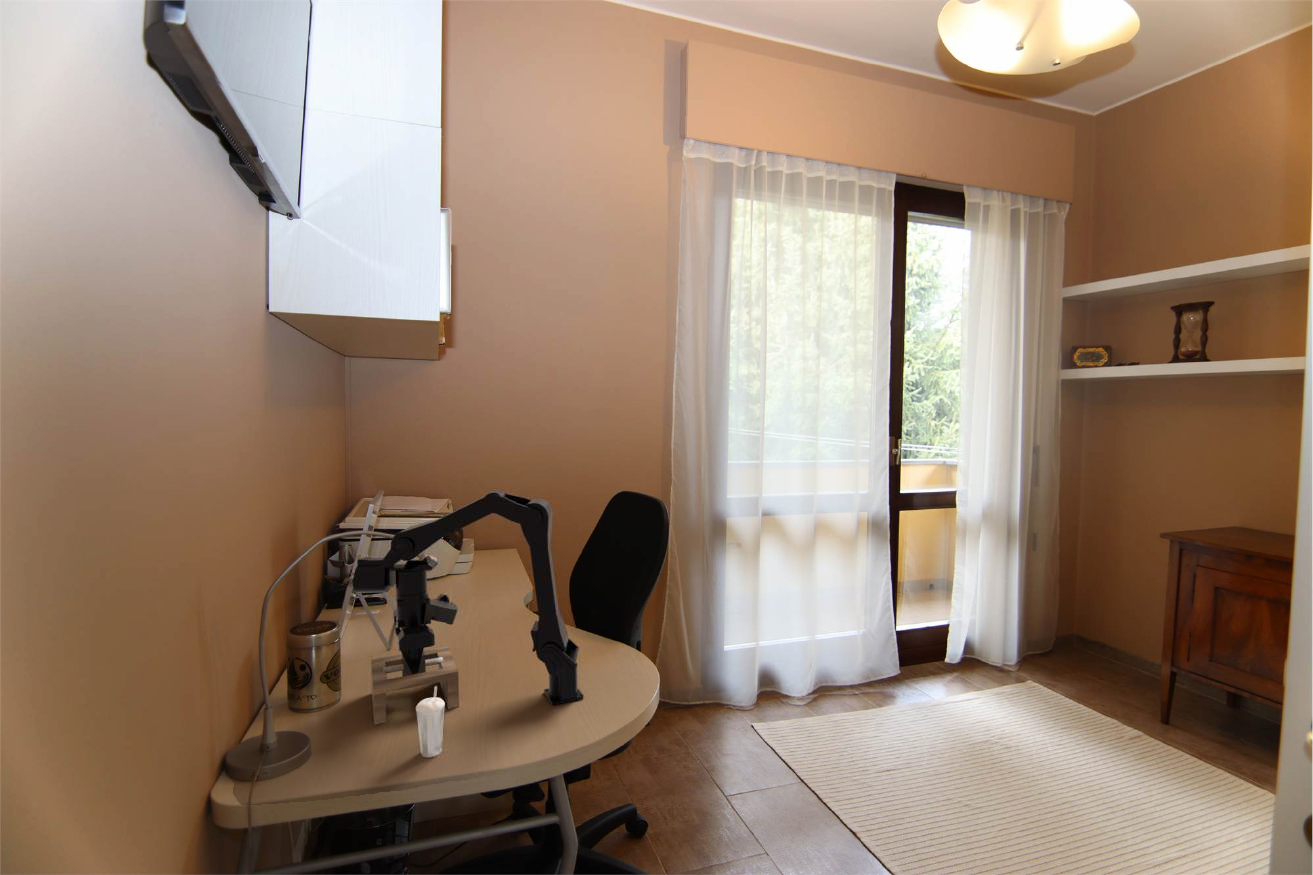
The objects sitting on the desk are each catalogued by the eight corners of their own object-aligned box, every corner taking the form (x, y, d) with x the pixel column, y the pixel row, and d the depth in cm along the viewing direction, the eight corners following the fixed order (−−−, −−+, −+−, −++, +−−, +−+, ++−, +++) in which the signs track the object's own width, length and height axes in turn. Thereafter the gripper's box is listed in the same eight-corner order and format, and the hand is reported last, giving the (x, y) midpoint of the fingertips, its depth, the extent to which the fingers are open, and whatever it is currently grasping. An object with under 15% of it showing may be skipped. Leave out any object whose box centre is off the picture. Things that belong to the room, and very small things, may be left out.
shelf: (459, 706, 119) (458, 668, 119) (374, 724, 112) (373, 684, 112) (448, 678, 132) (448, 643, 131) (371, 693, 125) (370, 656, 125)
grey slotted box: (425, 679, 121) (425, 655, 121) (403, 683, 119) (403, 659, 119) (423, 671, 125) (423, 648, 124) (402, 675, 123) (401, 651, 123)
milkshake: (450, 742, 106) (449, 685, 106) (440, 759, 101) (439, 700, 101) (424, 742, 106) (422, 686, 106) (413, 760, 101) (411, 701, 101)
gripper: (461, 598, 116) (463, 678, 117) (447, 574, 133) (449, 645, 134) (398, 607, 111) (400, 691, 112) (391, 581, 128) (394, 654, 129)
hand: (413, 668), depth 122 cm, fingers open, 4 cm apart
